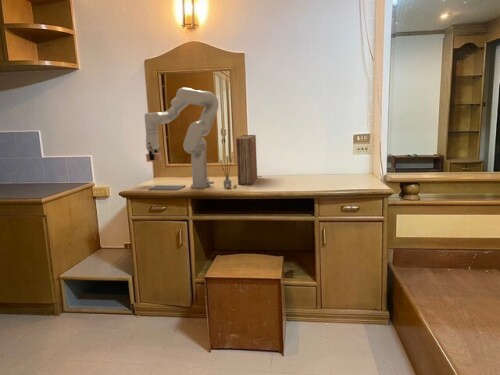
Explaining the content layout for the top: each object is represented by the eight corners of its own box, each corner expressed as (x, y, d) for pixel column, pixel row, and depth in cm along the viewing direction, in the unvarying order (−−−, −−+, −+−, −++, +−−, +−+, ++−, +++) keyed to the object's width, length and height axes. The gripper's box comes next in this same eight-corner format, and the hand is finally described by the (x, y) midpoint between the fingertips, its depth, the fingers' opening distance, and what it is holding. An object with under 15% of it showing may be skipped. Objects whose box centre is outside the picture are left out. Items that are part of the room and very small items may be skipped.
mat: (185, 186, 252) (185, 185, 252) (178, 190, 240) (178, 189, 240) (156, 186, 256) (156, 185, 256) (148, 190, 245) (148, 189, 245)
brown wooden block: (252, 184, 249) (250, 137, 244) (237, 184, 251) (235, 137, 245) (257, 177, 274) (255, 134, 268) (244, 178, 275) (242, 135, 270)
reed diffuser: (220, 189, 238) (218, 156, 235) (221, 187, 245) (219, 155, 241) (236, 188, 238) (235, 156, 235) (237, 186, 245) (235, 154, 241)
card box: (149, 160, 262) (149, 153, 261) (162, 160, 261) (161, 152, 260) (146, 161, 257) (146, 154, 256) (159, 161, 256) (158, 153, 255)
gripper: (152, 131, 264) (155, 158, 268) (140, 133, 248) (142, 161, 251) (162, 131, 263) (165, 157, 266) (151, 132, 246) (153, 161, 250)
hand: (154, 159), depth 259 cm, fingers closed on card box, 5 cm apart
